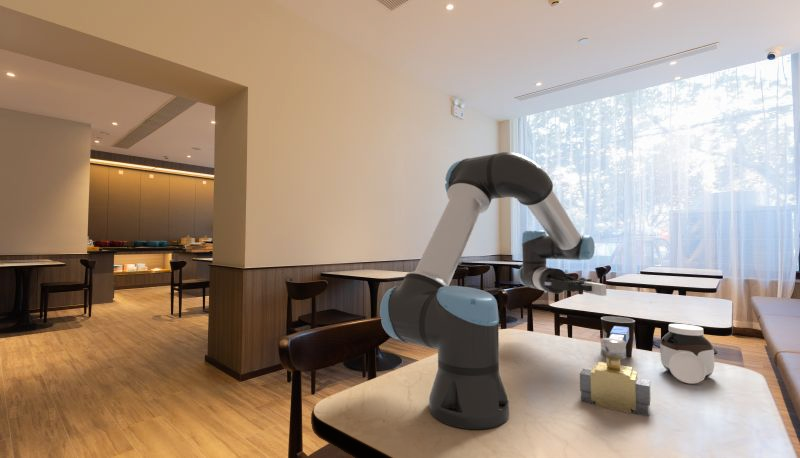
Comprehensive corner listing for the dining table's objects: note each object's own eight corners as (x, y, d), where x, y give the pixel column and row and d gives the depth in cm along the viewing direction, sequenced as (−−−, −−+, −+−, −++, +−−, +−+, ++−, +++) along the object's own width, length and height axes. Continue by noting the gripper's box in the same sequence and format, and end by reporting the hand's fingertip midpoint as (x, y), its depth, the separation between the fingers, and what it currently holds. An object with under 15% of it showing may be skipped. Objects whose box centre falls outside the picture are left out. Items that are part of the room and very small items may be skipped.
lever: (599, 356, 74) (599, 341, 74) (611, 336, 90) (610, 324, 90) (625, 360, 72) (624, 345, 72) (632, 339, 87) (632, 326, 87)
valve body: (579, 401, 76) (578, 354, 76) (584, 391, 80) (583, 348, 81) (649, 417, 69) (648, 366, 69) (651, 405, 73) (649, 357, 74)
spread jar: (696, 369, 94) (694, 323, 95) (734, 386, 83) (732, 334, 83) (648, 369, 95) (646, 323, 95) (680, 386, 83) (678, 334, 84)
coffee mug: (634, 361, 101) (633, 324, 101) (599, 355, 106) (598, 320, 107) (638, 350, 110) (637, 317, 111) (605, 346, 116) (604, 313, 116)
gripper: (569, 291, 116) (627, 304, 93) (531, 292, 114) (580, 306, 91) (569, 267, 117) (626, 274, 93) (530, 268, 115) (579, 275, 91)
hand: (603, 290), depth 92 cm, fingers closed
